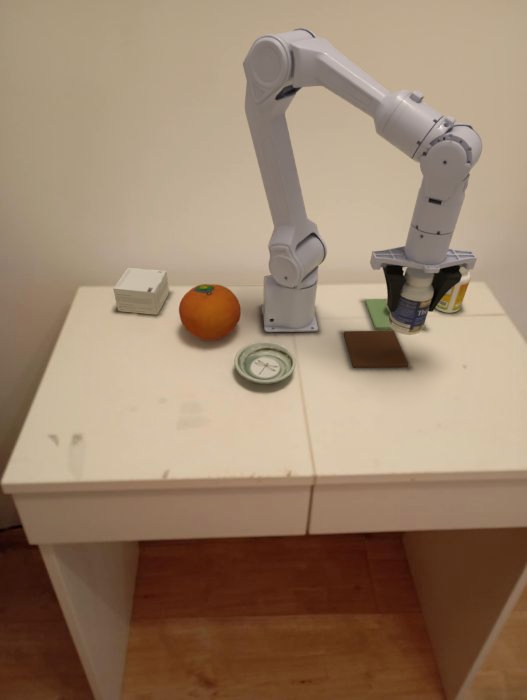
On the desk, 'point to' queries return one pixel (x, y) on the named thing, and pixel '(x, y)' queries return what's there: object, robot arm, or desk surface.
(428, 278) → the pill bottle
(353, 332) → the walnut mat
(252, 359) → the saucer
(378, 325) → the sage mat
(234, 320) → the fruit
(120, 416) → the desk surface
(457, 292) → the supplement bottle
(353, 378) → the desk surface
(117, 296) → the small box
